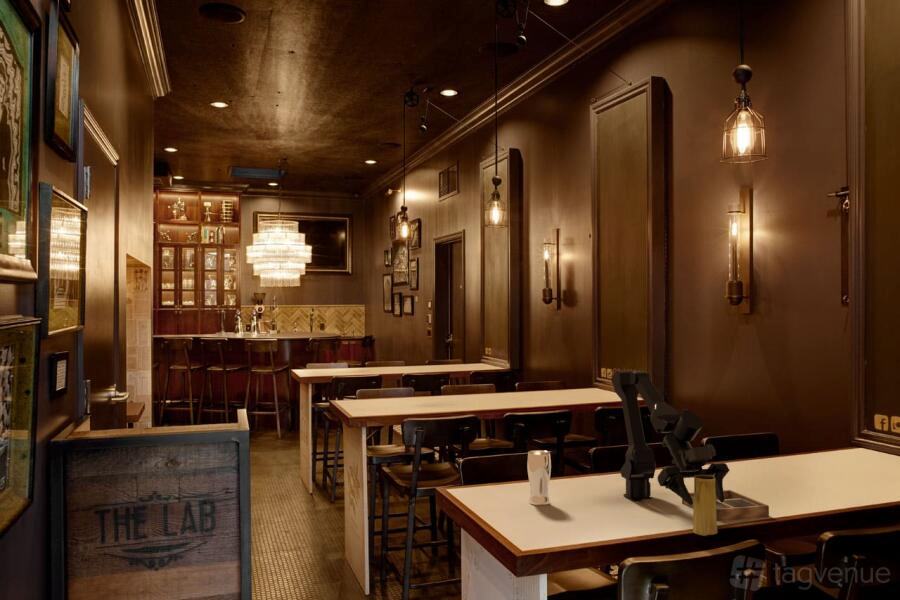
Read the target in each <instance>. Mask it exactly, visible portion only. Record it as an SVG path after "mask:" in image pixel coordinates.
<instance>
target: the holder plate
mask: <svg viewBox="0 0 900 600" xmlns="http://www.w3.org/2000/svg"><path fill="white" fill-rule="evenodd" d="M747 506H760V505H758V504H755V503H753V502H750V501H748V500H746V499H743V498H737V499H724V502H721V501H720V500H716V508H718V509H720V508H733V507H747Z"/></svg>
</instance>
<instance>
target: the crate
mask: <svg viewBox="0 0 900 600" xmlns="http://www.w3.org/2000/svg"><path fill="white" fill-rule="evenodd" d="M723 493H724V499H737V498H743V499H746V500H748V501H750V502H753V503H755V504H758V505H760V506H747V507H733V508H720V509H718V508H716V516H717V522H722V521H733V520H745V519H747V520H748V519H761V518H770V506H769V505H768V504H765V503H763V502H760V501H759V500H758V501H757V500H756V499H753V498H750V497H749V496H746V495H743V494H741V493H738V492H736V491H734V490H732V489H728V490H727V489H726V490H725V489H723ZM689 494H690V496H691V498H692V501H694V492H689ZM716 500H719V499H718V498H717V496H716ZM681 504H682V505H684V506H687V507H688V508H689V509H692V510H693V504H692V505H689V504H688V503H687V502H686V501H685V500H683V499H682V498H681Z"/></svg>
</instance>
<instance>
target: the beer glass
mask: <svg viewBox="0 0 900 600" xmlns="http://www.w3.org/2000/svg"><path fill="white" fill-rule="evenodd" d="M526 465H527V475H528V483H529V488H530V491H529V492H530V494H529V499H528V500H529V501H528V502H529V504H530V505H532V504H533V505H532V506H538V505H540V506H541V505H543V506H548V505H550V498H549V485H550V481H551V472H552V470H551V469H552V460H551V452H550V451H548V450H542V449H540V450H539V449H537V450H535V449H534V450H533V449H532V450H529V451H528V453H527V463H526ZM540 506H539V507H540Z"/></svg>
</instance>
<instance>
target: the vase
mask: <svg viewBox="0 0 900 600" xmlns="http://www.w3.org/2000/svg"><path fill="white" fill-rule="evenodd" d="M693 486H694V487H693V491H694V501H693V509H692V510H693V513H692V514H693V515H692V530H693V531H692V533H694V534H696V535H698V536H701V537H702V536H703V537H709V535H710V536H712V535H716V534H718V521H717V516H716V490H715V477H713V476H710V475H695V476H694V477H693Z"/></svg>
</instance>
